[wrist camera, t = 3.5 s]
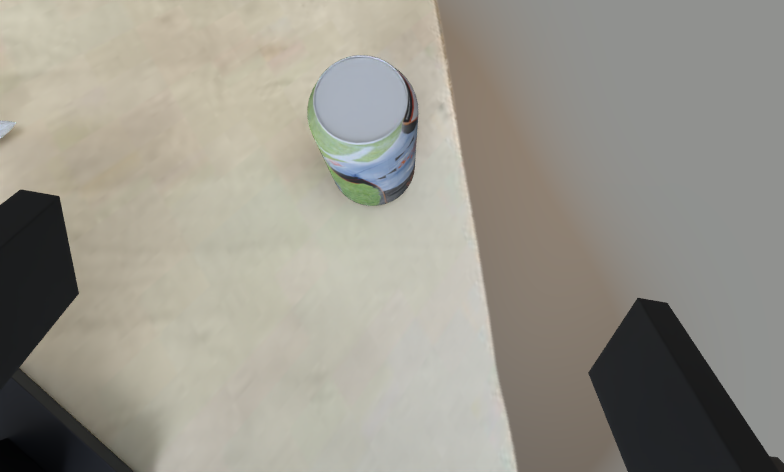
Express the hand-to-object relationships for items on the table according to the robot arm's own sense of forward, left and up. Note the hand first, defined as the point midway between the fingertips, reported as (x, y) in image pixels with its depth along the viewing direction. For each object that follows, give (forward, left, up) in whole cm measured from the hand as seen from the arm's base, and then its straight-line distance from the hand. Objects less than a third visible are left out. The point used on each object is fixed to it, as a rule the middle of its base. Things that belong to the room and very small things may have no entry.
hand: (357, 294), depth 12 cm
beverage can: (+6, -9, -24) cm, 26 cm away
